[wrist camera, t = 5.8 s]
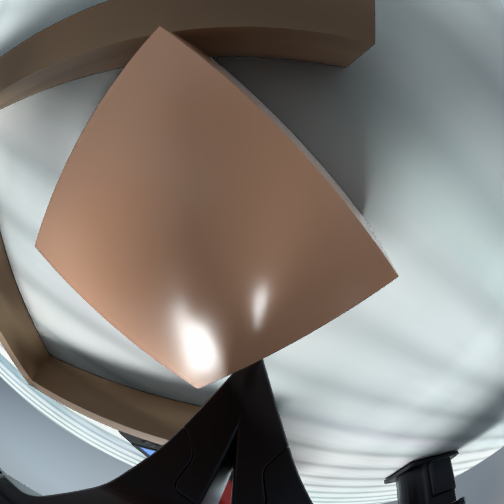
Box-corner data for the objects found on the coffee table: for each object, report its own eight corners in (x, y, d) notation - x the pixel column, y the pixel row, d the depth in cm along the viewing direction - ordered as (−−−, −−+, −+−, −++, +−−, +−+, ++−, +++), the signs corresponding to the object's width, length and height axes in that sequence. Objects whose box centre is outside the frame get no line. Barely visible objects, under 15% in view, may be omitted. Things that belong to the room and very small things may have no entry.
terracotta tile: (219, 321, 10) (197, 389, 7) (95, 205, 8) (34, 245, 6) (363, 217, 7) (398, 275, 5) (210, 56, 6) (160, 25, 3)
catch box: (274, 426, 13) (270, 465, 11) (45, 361, 14) (29, 384, 12) (347, 28, 5) (374, -8, 3) (-23, 100, 6) (-59, 109, 4)
